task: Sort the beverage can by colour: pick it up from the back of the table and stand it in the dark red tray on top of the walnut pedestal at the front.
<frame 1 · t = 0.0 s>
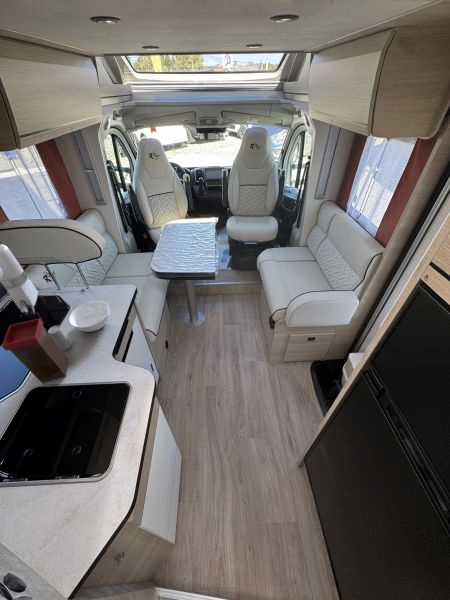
hand: (39, 312, 102), 22 cm above the worktop, tool pointing down, fingers open, 9 cm apart
pedestal: (55, 370, 107), on the worktop
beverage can: (66, 346, 117), on the worktop
red tray: (25, 335, 92), resting on pedestal
bowl: (95, 323, 128), on the worktop
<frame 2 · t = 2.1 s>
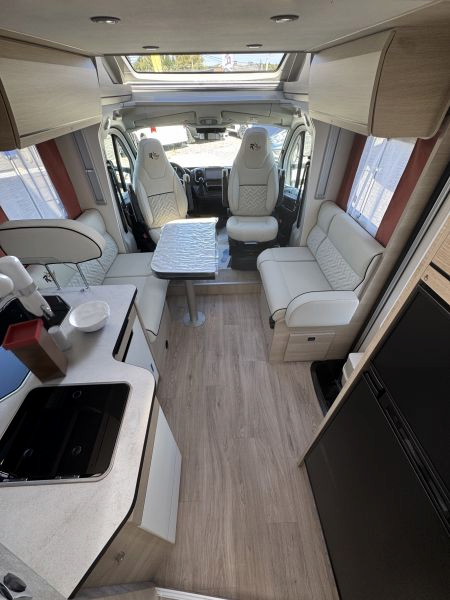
hand: (47, 319, 105), 18 cm above the worktop, tool pointing down, fingers open, 9 cm apart
nothing on the worktop moved.
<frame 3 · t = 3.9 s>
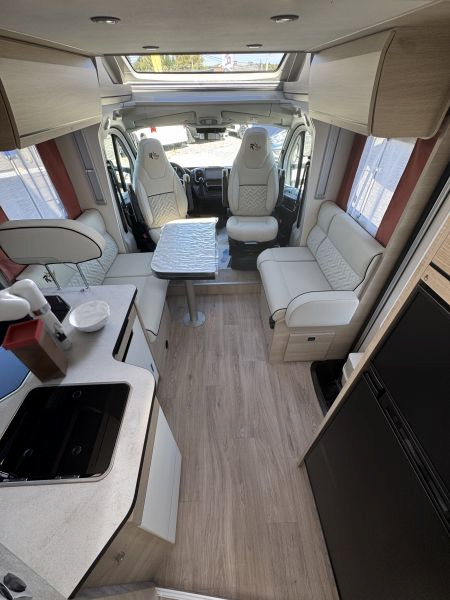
hand: (59, 337, 112), 7 cm above the worktop, tool pointing down, fingers closed on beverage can, 4 cm apart
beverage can: (66, 346, 117), on the worktop, touching gripper
everything else where it was.
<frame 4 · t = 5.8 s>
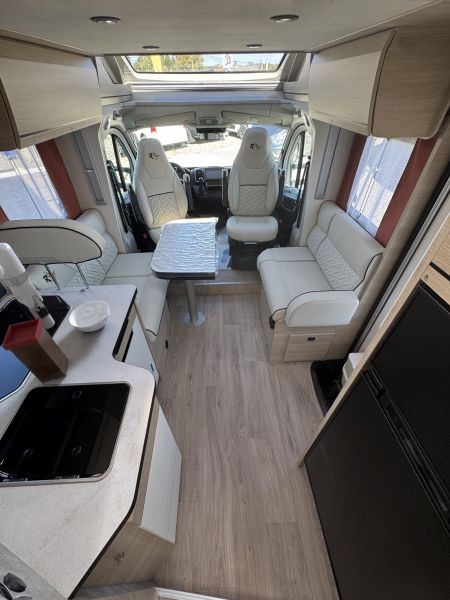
hand: (40, 313, 102), 22 cm above the worktop, tool pointing down, fingers closed on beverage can, 4 cm apart
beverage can: (49, 325, 106), point 15 cm above the worktop, touching gripper
everything else where it was.
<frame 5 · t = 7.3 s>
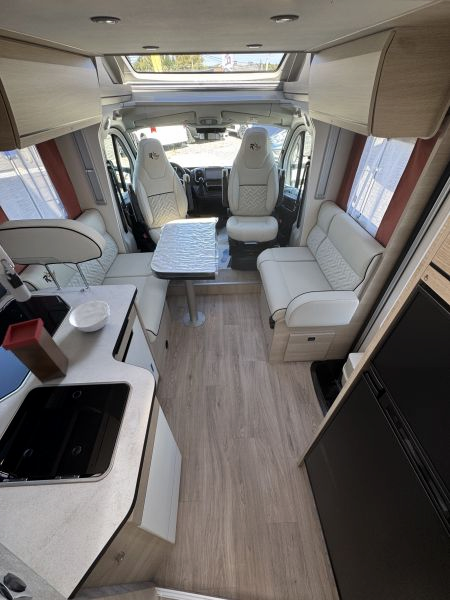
hand: (13, 283, 89), 39 cm above the worktop, tool pointing down, fingers closed on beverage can, 4 cm apart
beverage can: (24, 298, 94), point 32 cm above the worktop, touching gripper
everything else where it was.
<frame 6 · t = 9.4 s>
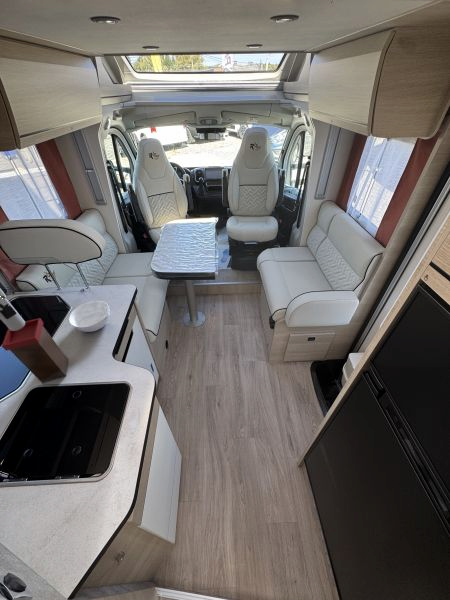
hand: (6, 313, 84), 35 cm above the worktop, tool pointing down, fingers closed on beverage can, 4 cm apart
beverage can: (18, 326, 89), point 28 cm above the worktop, touching gripper
everything else where it was.
when the fingers open (30 cm above the worktop, at t = 10.9 s): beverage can stays where it is, resting on red tray.
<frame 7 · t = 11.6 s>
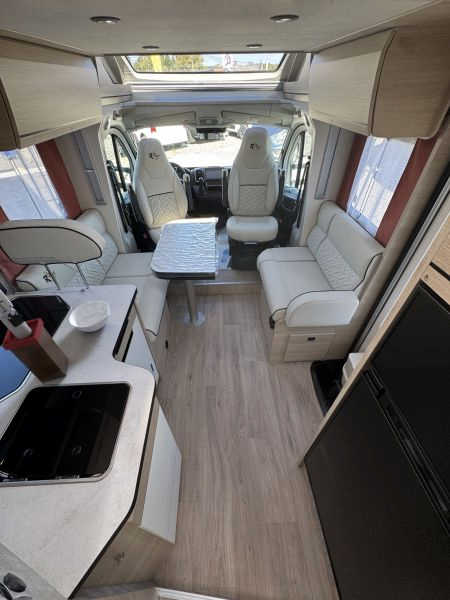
hand: (11, 319, 86), 32 cm above the worktop, tool pointing down, fingers open, 9 cm apart
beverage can: (25, 335, 92), point 23 cm above the worktop, touching red tray
everything else where it was.
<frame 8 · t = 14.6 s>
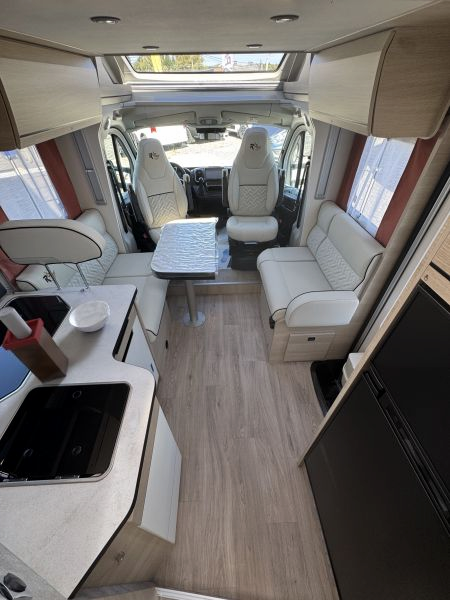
nothing on the worktop moved.
at the end: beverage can 0.0 cm off-centre on the red tray, point 0.3 cm above the red tray's base; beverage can tilted 0° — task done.
